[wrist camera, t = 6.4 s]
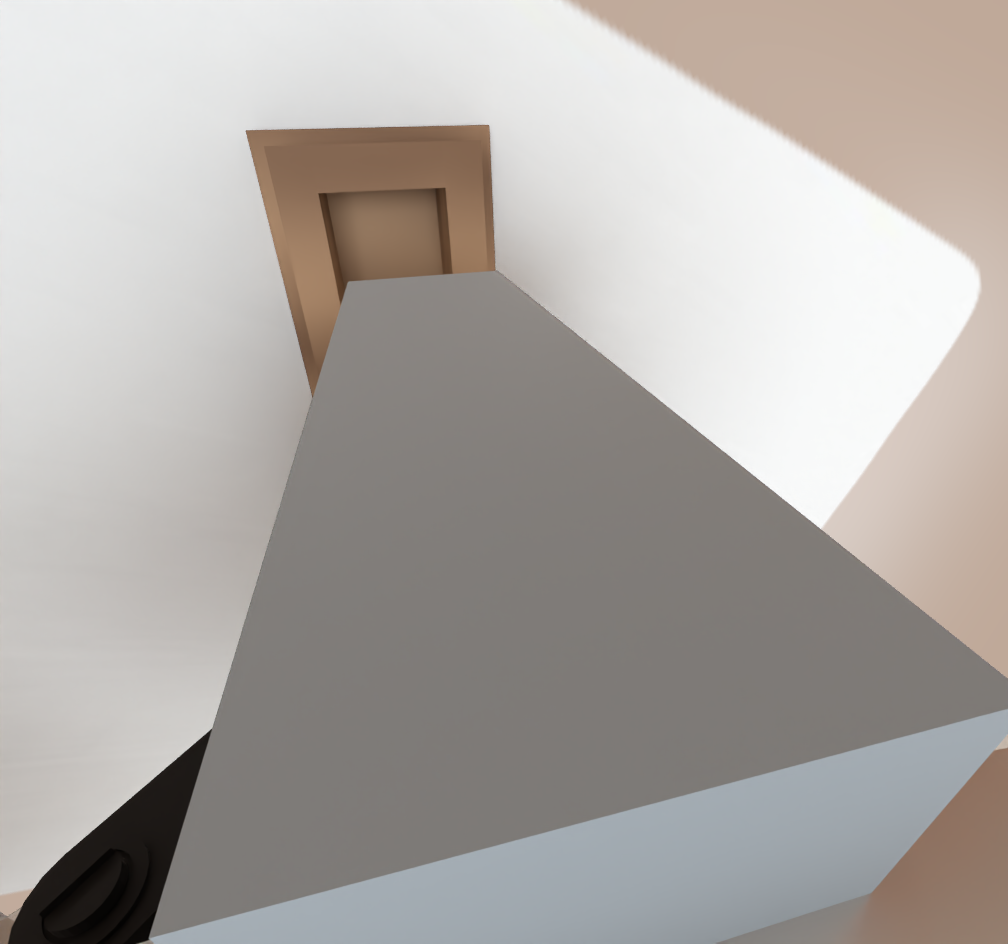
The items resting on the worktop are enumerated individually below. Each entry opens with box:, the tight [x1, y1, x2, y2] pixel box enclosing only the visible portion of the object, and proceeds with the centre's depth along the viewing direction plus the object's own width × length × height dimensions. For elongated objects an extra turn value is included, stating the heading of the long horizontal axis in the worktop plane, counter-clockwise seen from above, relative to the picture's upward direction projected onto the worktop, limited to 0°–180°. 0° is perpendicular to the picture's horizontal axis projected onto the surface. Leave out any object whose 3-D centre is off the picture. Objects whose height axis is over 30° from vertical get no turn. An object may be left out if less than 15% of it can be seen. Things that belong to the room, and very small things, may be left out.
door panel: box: [149, 271, 1008, 944], centre depth 8 cm, size 9×3×10 cm, turn 2°
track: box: [246, 125, 495, 397], centre depth 20 cm, size 16×8×4 cm, turn 2°
